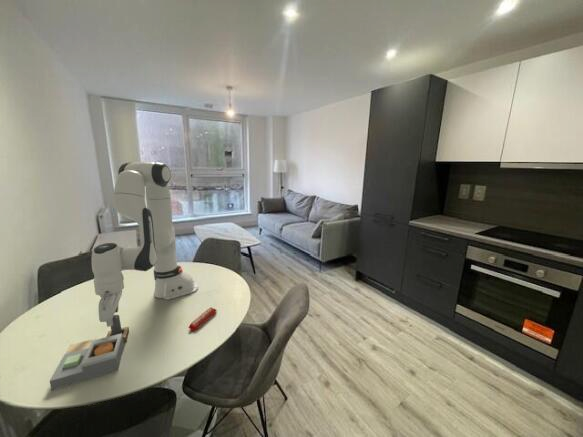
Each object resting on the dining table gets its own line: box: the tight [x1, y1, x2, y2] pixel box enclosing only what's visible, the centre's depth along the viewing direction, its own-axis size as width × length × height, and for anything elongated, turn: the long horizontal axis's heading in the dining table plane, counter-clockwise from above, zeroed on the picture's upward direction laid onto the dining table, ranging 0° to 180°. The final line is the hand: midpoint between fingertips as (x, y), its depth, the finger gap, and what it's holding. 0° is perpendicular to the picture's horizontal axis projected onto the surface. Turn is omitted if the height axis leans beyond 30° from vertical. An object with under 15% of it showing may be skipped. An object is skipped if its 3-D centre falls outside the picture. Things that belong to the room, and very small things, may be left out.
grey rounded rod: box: [110, 314, 122, 336], centre depth 94 cm, size 3×3×10 cm
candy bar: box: [188, 307, 218, 332], centre depth 107 cm, size 16×4×3 cm, turn 160°
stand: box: [106, 326, 130, 344], centre depth 95 cm, size 7×7×2 cm
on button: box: [64, 354, 82, 369], centre depth 79 cm, size 4×4×3 cm
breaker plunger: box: [94, 343, 114, 356], centre depth 83 cm, size 5×5×3 cm
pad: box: [64, 338, 97, 355], centre depth 89 cm, size 8×8×1 cm
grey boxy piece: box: [49, 333, 125, 391], centre depth 81 cm, size 17×12×6 cm
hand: (113, 318), depth 92 cm, fingers open, 8 cm apart
